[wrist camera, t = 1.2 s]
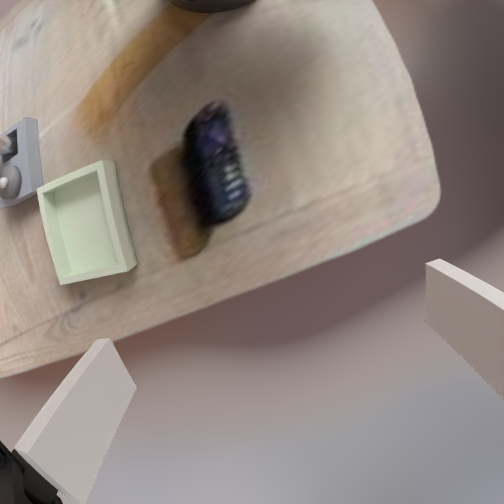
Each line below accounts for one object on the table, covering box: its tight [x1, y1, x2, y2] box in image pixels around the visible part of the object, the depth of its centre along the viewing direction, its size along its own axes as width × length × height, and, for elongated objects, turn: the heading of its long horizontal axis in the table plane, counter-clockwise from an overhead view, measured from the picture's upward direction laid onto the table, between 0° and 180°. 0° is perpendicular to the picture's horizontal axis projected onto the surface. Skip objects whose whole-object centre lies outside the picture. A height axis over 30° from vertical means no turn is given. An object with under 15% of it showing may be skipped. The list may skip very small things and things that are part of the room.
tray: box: [37, 160, 138, 285], centre depth 32 cm, size 14×12×4 cm
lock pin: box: [0, 136, 18, 156], centre depth 25 cm, size 3×3×10 cm
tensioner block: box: [0, 117, 43, 209], centre depth 28 cm, size 12×9×6 cm
